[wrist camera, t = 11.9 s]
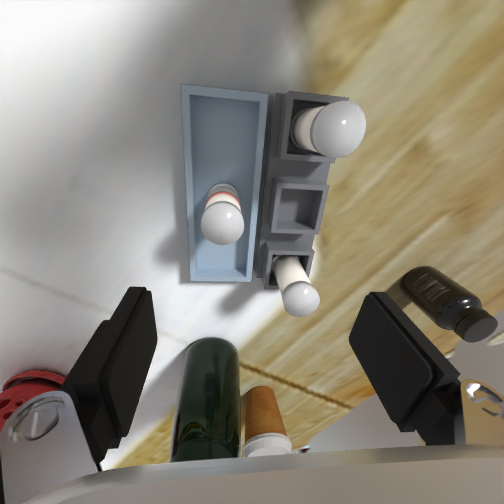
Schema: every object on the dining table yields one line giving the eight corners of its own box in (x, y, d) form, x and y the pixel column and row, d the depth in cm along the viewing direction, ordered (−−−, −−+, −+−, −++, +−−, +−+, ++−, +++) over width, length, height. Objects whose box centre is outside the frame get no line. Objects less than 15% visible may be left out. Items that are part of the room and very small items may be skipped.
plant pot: (-1, 393, 46) (-67, 471, 36) (21, 354, 42) (-46, 430, 32) (69, 411, 51) (29, 485, 41) (95, 378, 47) (57, 451, 37)
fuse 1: (272, 247, 35) (287, 288, 27) (299, 248, 36) (323, 288, 27) (269, 271, 37) (282, 316, 28) (294, 272, 38) (315, 316, 29)
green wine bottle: (204, 326, 43) (161, 731, 14) (249, 348, 47) (285, 703, 18) (174, 359, 47) (88, 743, 18) (218, 377, 50) (206, 717, 21)
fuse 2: (290, 107, 27) (321, 98, 18) (325, 110, 28) (372, 103, 19) (285, 147, 29) (311, 156, 20) (318, 149, 29) (357, 160, 21)
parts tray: (185, 88, 26) (180, 83, 24) (264, 96, 28) (268, 93, 25) (193, 270, 38) (190, 281, 35) (249, 271, 39) (251, 281, 36)
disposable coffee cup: (231, 399, 55) (232, 465, 44) (255, 376, 52) (263, 440, 41) (264, 410, 58) (272, 473, 47) (288, 388, 55) (303, 451, 44)
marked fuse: (207, 181, 31) (200, 204, 22) (239, 183, 31) (245, 206, 23) (207, 212, 33) (201, 244, 24) (238, 213, 33) (242, 245, 25)
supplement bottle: (399, 299, 45) (452, 353, 34) (400, 270, 42) (459, 320, 31) (435, 289, 45) (499, 340, 34) (439, 260, 41) (511, 306, 31)
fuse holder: (273, 94, 28) (281, 89, 24) (338, 101, 29) (356, 97, 25) (255, 272, 39) (258, 289, 35) (302, 273, 40) (310, 289, 36)
